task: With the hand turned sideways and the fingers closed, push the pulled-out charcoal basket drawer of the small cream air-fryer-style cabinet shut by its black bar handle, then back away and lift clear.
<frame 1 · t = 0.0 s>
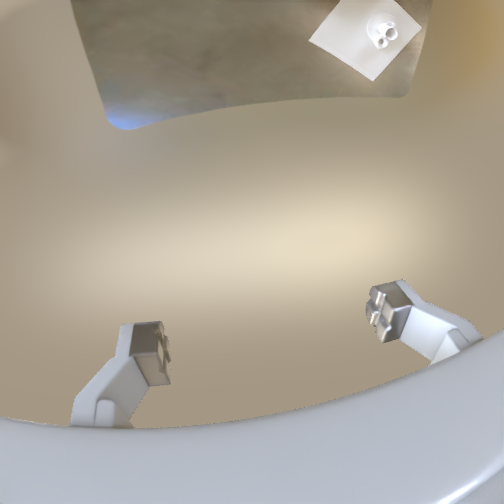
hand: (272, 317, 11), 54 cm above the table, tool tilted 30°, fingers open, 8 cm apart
teacup and saucer: (369, 30, 46), on the table
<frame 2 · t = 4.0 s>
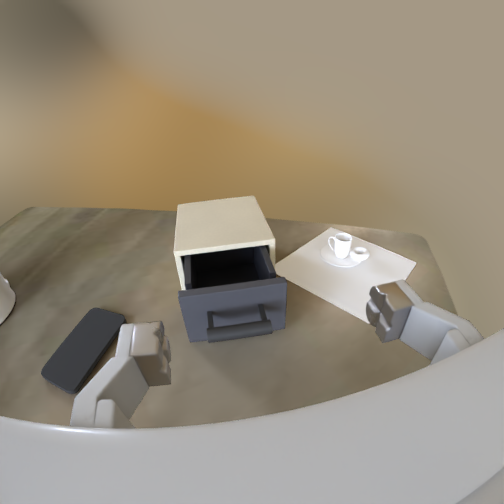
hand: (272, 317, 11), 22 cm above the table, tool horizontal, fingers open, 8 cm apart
teacup and saucer: (348, 267, 51), on the table
drawer: (230, 288, 40), point 5 cm above the table, slide at 7.0 cm
phone: (85, 349, 36), on the table
fryer: (224, 269, 51), on the table
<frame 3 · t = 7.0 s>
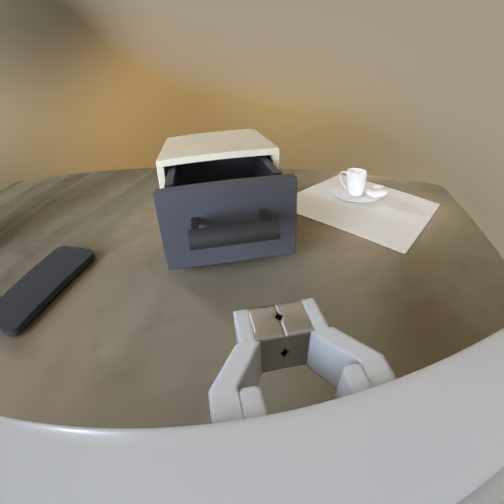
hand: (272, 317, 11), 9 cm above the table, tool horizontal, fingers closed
teacup and saucer: (364, 204, 42), on the table
drawer: (224, 204, 31), point 5 cm above the table, slide at 7.0 cm
phone: (41, 289, 27), on the table
fryer: (219, 206, 43), on the table
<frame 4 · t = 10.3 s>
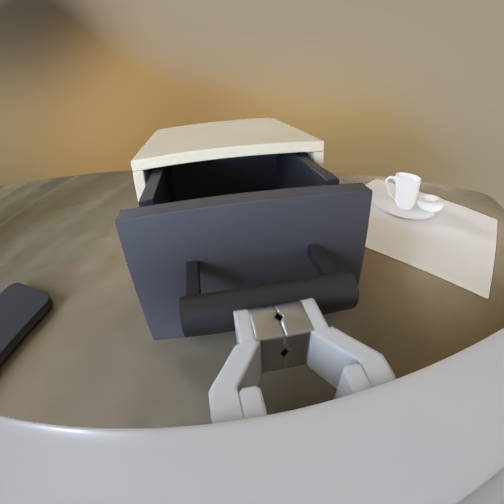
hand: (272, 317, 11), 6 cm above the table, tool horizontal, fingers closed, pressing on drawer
teacup and saucer: (418, 221, 30), on the table
drawer: (240, 228, 20), point 5 cm above the table, slide at 6.6 cm, touching gripper
fryer: (228, 223, 31), on the table
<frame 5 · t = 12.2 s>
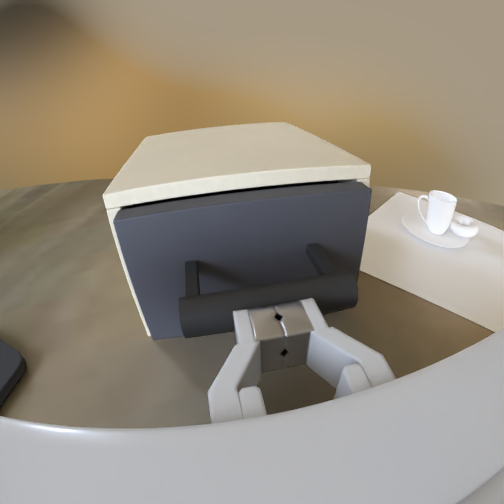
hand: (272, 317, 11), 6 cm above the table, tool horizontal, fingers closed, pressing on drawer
teacup and saucer: (453, 248, 25), on the table
drawer: (238, 226, 19), point 5 cm above the table, slide at 0.0 cm, touching fryer, gripper
fryer: (235, 256, 25), on the table
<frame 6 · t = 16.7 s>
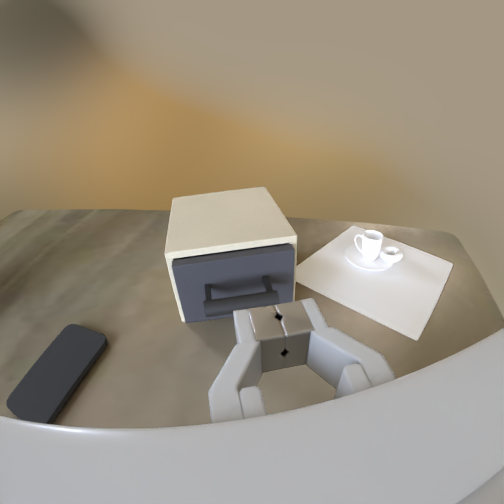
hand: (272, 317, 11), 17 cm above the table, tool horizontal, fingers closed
teacup and saucer: (379, 270, 41), on the table
drawer: (231, 262, 36), point 5 cm above the table, slide at 0.0 cm, touching fryer
phone: (57, 376, 26), on the table
fryer: (230, 276, 42), on the table
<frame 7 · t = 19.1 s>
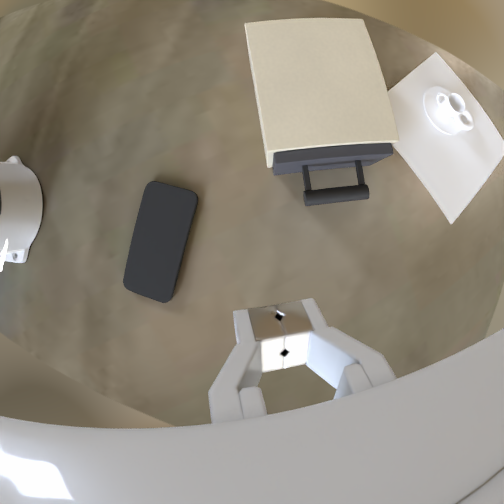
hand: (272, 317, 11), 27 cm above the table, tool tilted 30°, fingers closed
teacup and saucer: (448, 130, 34), on the table
drawer: (321, 121, 31), point 5 cm above the table, slide at 0.0 cm, touching fryer
phone: (159, 242, 38), on the table
fryer: (310, 105, 35), on the table
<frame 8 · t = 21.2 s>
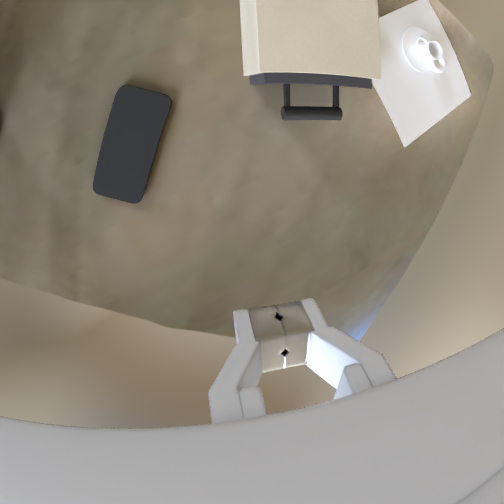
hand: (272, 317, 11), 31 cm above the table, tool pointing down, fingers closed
teacup and saucer: (418, 67, 34), on the table
drawer: (307, 43, 28), point 5 cm above the table, slide at 0.0 cm, touching fryer
phone: (130, 144, 35), on the table
fryer: (293, 21, 30), on the table
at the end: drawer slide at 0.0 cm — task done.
